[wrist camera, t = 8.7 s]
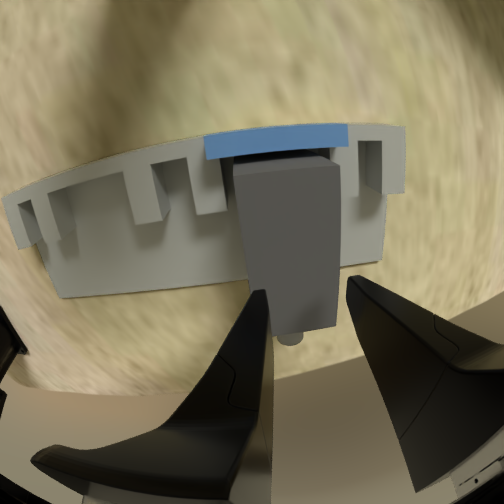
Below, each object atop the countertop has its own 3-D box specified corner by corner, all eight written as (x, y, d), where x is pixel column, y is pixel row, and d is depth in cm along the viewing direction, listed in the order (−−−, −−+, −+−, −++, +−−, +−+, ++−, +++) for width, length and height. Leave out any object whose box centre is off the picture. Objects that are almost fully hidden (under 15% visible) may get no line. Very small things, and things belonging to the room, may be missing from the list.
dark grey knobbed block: (310, 304, 19) (331, 364, 14) (256, 312, 19) (263, 375, 14) (304, 148, 14) (340, 165, 9) (233, 155, 14) (232, 176, 9)
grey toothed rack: (380, 257, 18) (405, 288, 15) (61, 295, 18) (39, 326, 15) (384, 122, 14) (421, 127, 10) (20, 186, 14) (-14, 204, 10)
